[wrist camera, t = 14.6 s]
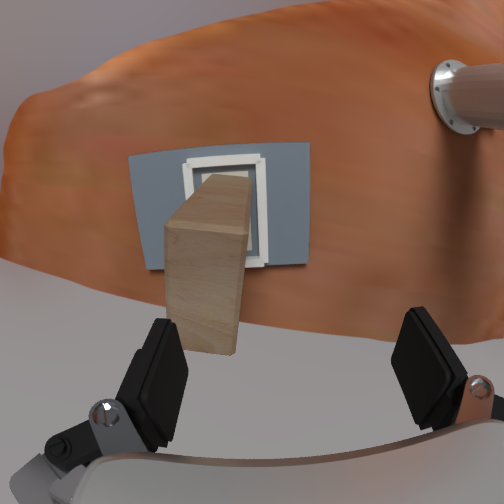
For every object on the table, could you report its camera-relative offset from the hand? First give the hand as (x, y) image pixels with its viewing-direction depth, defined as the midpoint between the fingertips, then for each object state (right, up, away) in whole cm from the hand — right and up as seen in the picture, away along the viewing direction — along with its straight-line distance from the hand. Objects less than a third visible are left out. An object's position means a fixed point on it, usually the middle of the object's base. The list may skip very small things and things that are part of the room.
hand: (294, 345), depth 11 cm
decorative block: (-5, +9, +27) cm, 29 cm away
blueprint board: (-6, +10, +28) cm, 31 cm away
